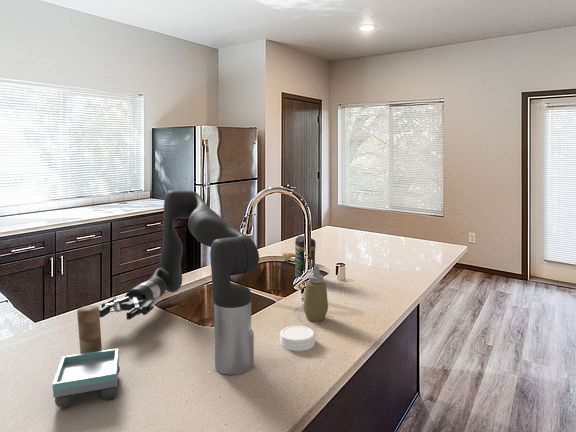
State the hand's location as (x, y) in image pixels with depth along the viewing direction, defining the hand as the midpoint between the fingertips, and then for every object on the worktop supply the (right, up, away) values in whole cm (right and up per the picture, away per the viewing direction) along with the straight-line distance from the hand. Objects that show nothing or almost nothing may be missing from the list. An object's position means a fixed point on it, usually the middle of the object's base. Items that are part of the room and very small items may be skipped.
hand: (113, 315), depth 114 cm
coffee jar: (+56, +1, +60) cm, 82 cm away
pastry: (+50, +5, +90) cm, 103 cm away
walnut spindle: (-2, -10, -9) cm, 13 cm away
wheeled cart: (+4, -12, -23) cm, 26 cm away
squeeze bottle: (+58, -6, +19) cm, 61 cm away
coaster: (+52, -9, +1) cm, 53 cm away
